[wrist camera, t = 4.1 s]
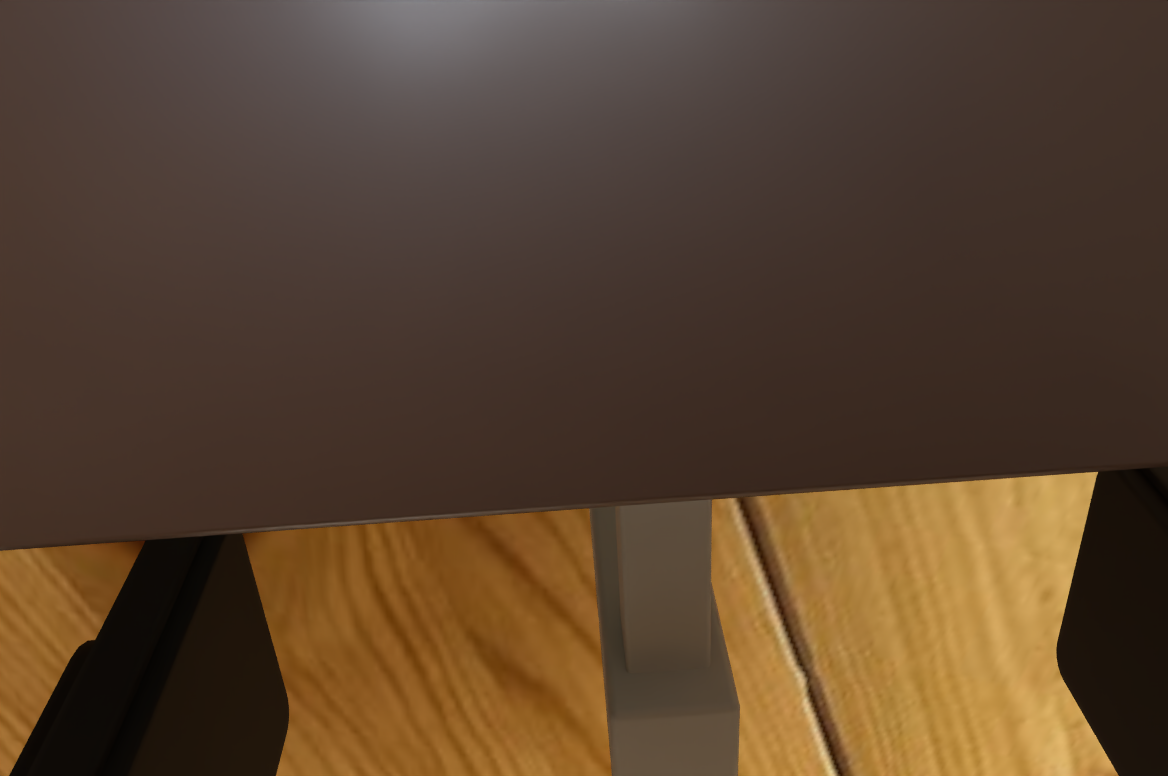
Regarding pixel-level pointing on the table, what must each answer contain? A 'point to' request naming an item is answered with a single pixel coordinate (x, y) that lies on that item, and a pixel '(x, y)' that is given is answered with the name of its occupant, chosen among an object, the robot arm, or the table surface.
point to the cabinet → (567, 254)
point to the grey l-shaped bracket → (663, 642)
